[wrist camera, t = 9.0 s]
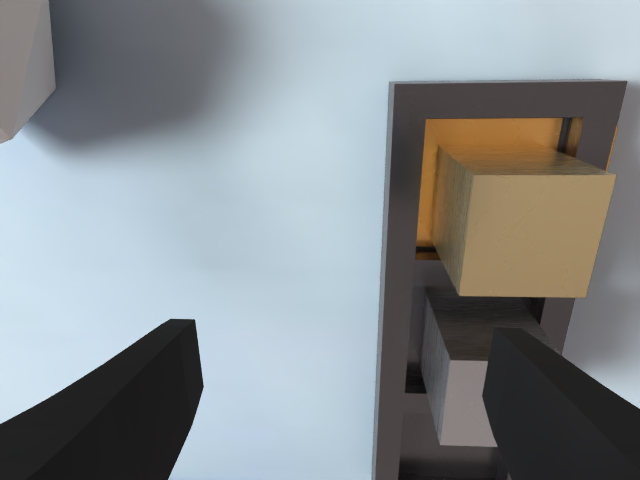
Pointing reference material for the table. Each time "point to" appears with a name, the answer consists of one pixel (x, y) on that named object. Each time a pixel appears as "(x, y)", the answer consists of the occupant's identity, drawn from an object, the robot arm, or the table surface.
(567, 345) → the table surface
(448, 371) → the matte gray cube
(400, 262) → the rail
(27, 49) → the die
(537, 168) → the light wood cube
